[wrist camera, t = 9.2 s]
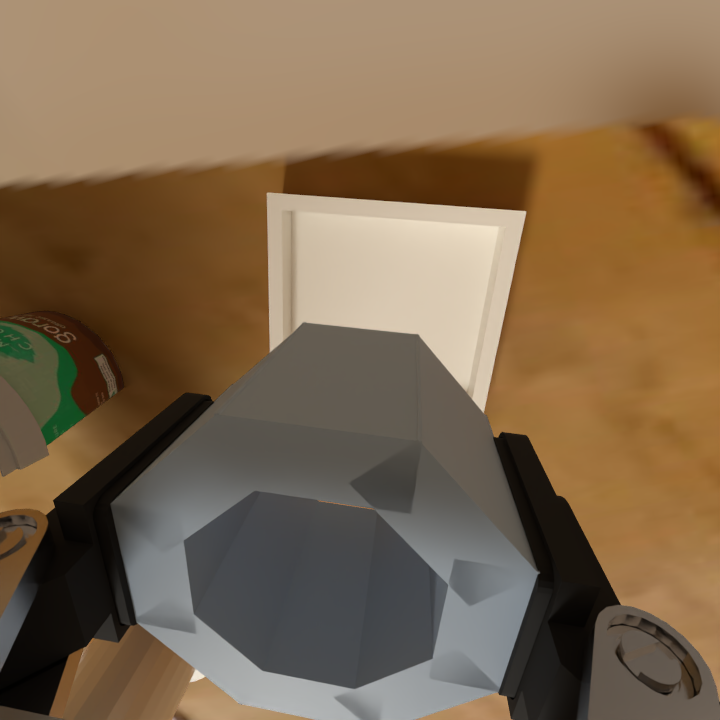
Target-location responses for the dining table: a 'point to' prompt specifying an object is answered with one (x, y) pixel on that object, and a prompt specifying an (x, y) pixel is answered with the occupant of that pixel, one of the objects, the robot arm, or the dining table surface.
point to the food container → (48, 382)
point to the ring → (333, 535)
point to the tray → (395, 274)
